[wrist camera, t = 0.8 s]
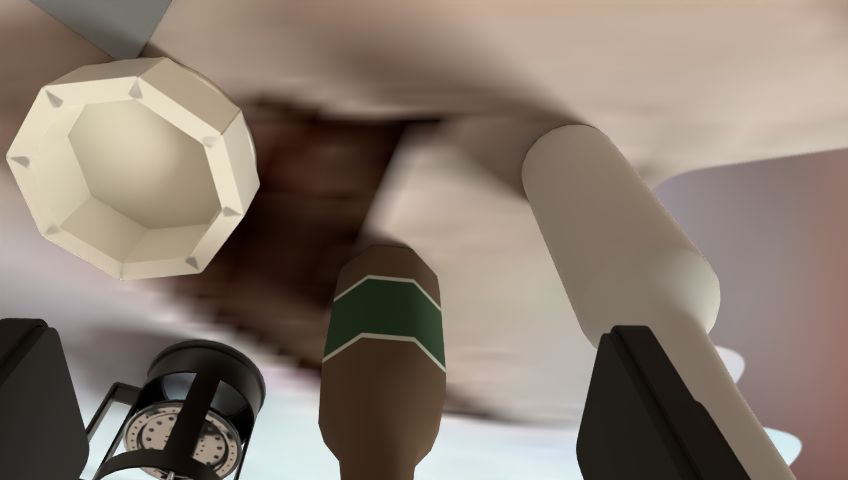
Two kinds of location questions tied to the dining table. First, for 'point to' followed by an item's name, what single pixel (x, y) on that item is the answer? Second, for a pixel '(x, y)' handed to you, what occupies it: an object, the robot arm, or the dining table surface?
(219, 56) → the dining table surface
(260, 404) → the french press
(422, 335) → the beer bottle
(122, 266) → the bowl
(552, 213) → the bottle
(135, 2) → the mat
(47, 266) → the dining table surface
